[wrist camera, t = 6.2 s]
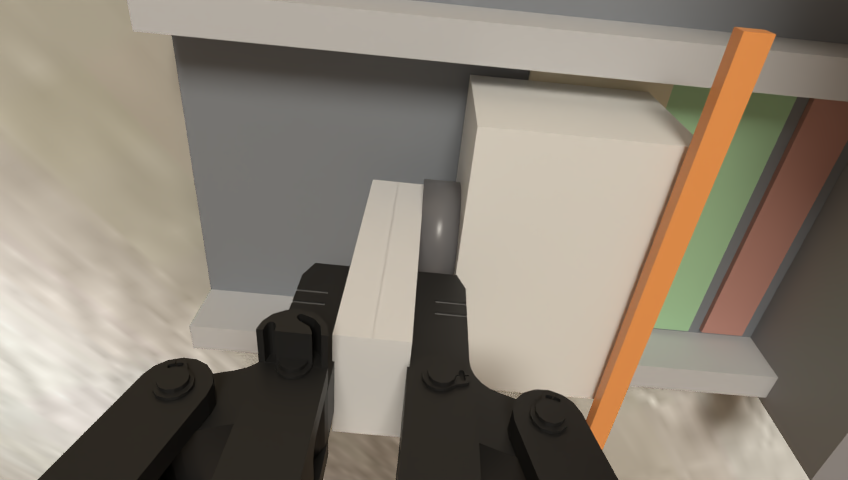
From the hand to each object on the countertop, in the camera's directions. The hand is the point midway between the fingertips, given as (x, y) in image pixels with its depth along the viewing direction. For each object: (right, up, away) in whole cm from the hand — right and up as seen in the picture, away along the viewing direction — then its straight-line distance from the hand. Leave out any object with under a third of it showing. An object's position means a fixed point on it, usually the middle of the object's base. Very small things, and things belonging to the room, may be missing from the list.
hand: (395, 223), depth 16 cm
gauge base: (+5, +1, +2) cm, 5 cm away
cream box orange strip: (+4, +1, +1) cm, 4 cm away
